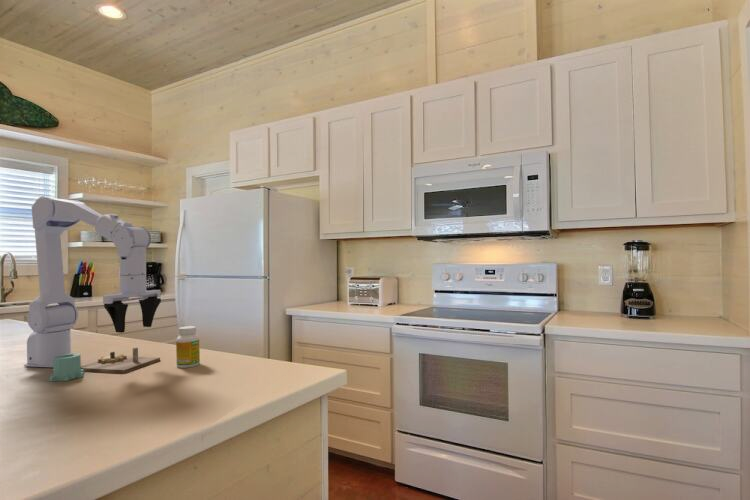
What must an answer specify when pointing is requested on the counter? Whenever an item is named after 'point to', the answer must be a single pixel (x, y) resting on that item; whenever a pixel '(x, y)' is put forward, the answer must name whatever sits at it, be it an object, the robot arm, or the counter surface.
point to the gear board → (119, 363)
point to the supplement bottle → (187, 347)
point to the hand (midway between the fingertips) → (134, 329)
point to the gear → (66, 367)
